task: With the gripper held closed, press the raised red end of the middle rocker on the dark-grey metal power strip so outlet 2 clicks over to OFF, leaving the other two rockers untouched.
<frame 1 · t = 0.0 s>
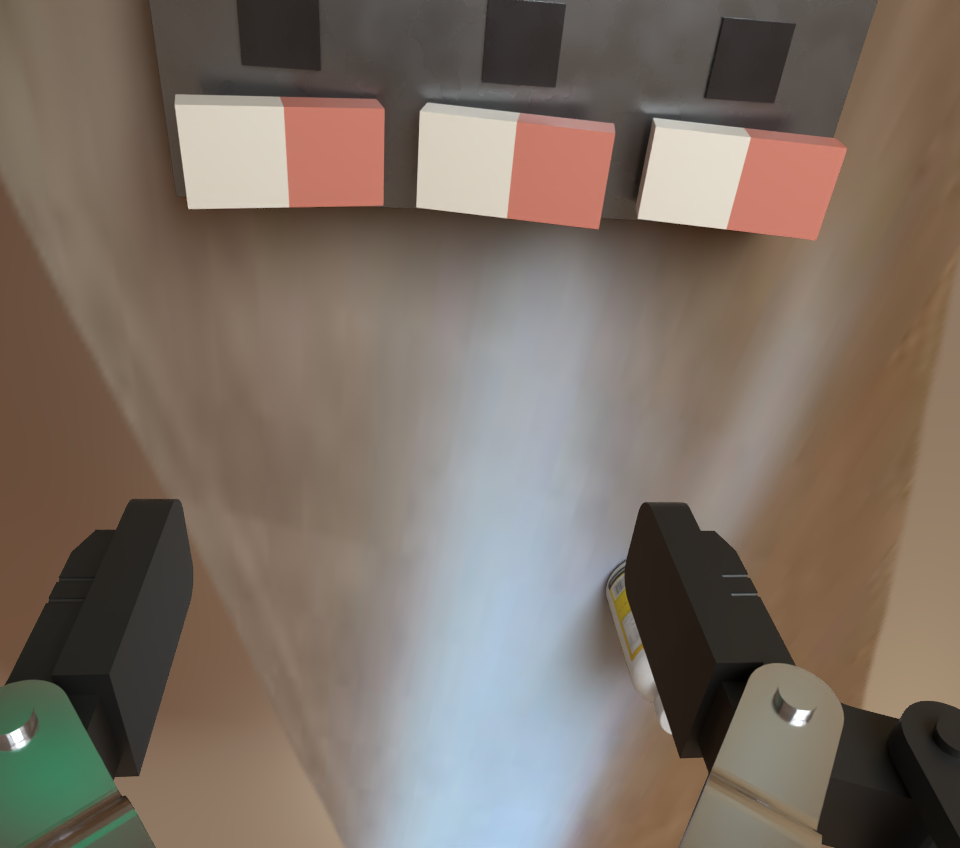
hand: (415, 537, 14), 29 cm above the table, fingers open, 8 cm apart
rocker 3: (735, 179, 34), point 6 cm above the table, hinge at 12.0°
rocker 1: (284, 152, 32), point 6 cm above the table, hinge at -12.0°
power strip: (506, 83, 37), on the table
pill bottle: (645, 577, 57), on the table
rocker 2: (513, 166, 33), point 6 cm above the table, hinge at 12.0°
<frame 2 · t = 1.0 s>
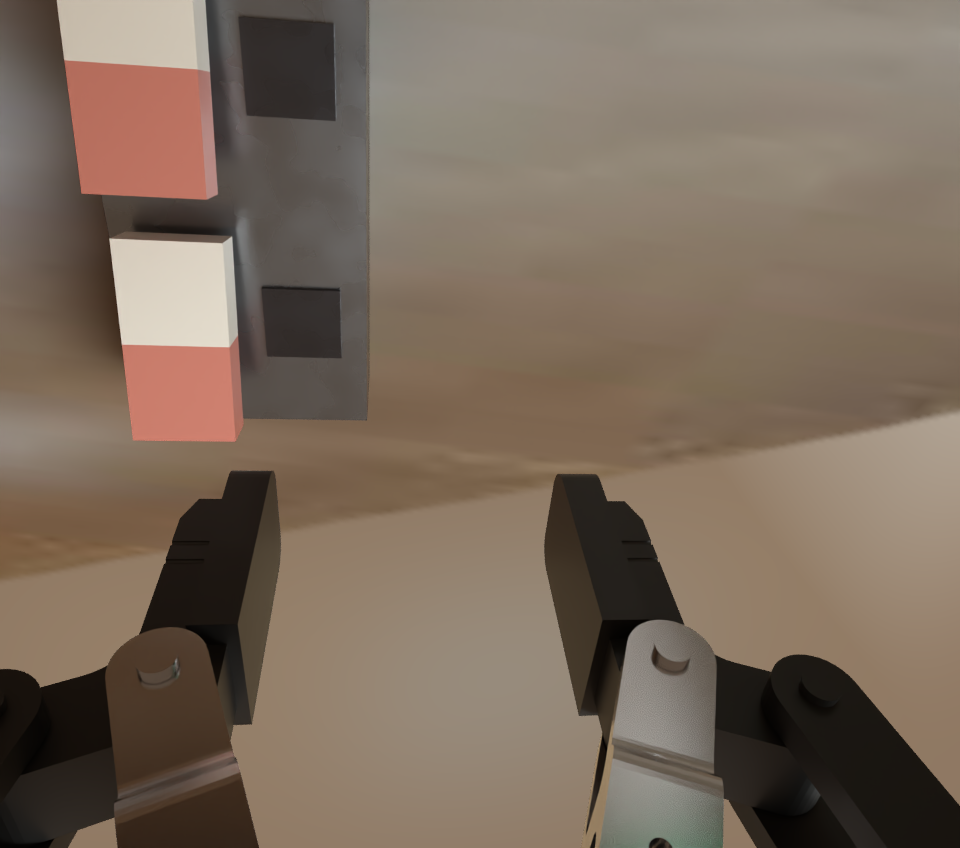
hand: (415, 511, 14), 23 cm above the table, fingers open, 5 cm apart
rocker 3: (182, 339, 31), point 6 cm above the table, hinge at 12.0°
power strip: (241, 47, 30), on the table
rocker 2: (140, 66, 25), point 6 cm above the table, hinge at 12.0°
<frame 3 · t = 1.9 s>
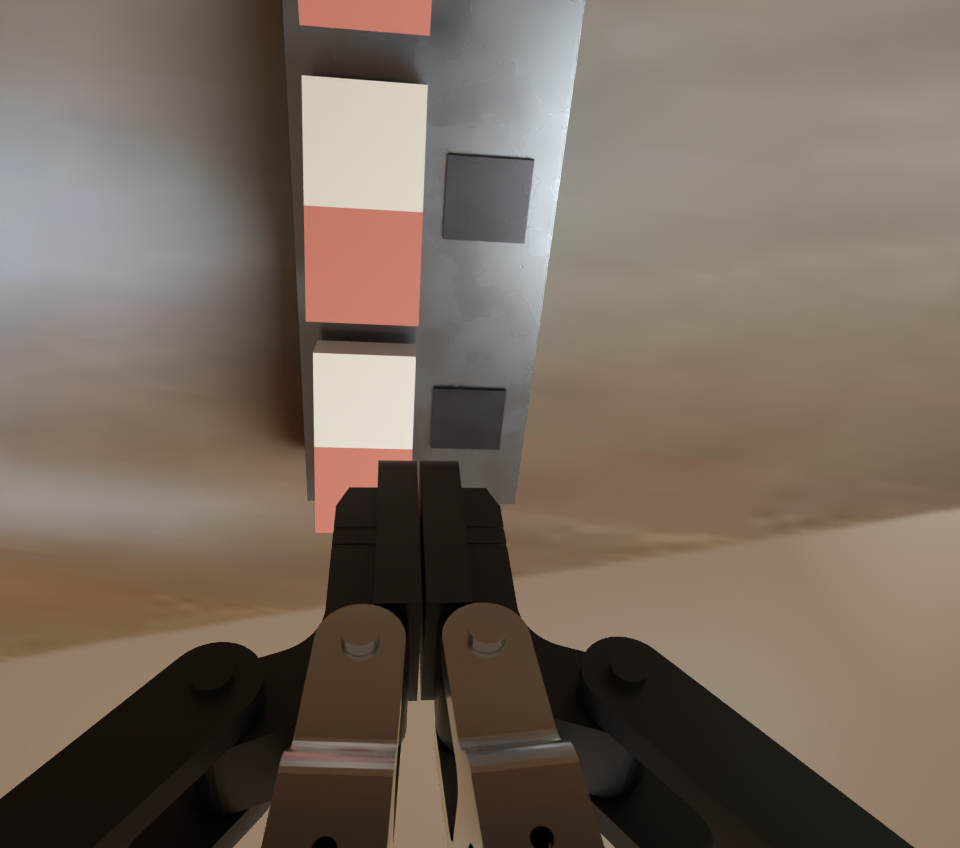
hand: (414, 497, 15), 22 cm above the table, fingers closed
rocker 3: (364, 439, 32), point 6 cm above the table, hinge at 12.0°
power strip: (425, 165, 32), on the table
rocker 2: (365, 205, 27), point 6 cm above the table, hinge at 12.0°
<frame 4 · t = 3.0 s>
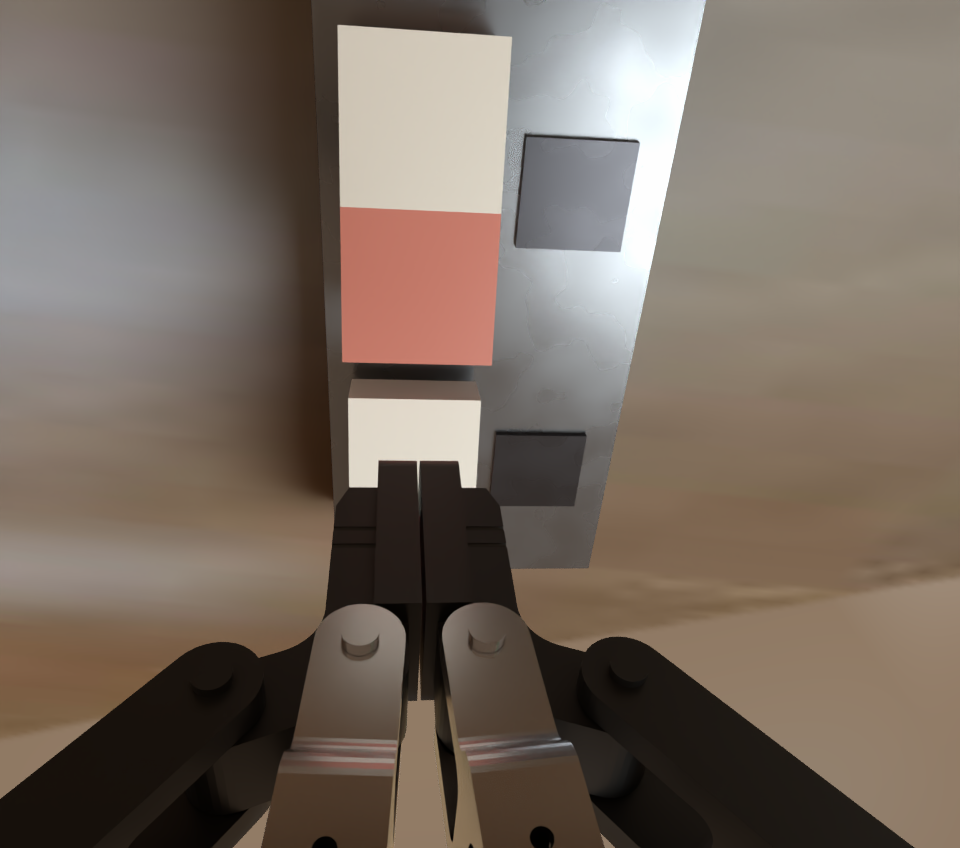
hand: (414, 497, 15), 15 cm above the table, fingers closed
rocker 3: (412, 503, 26), point 6 cm above the table, hinge at 12.0°
power strip: (484, 153, 25), on the table
rocker 2: (420, 206, 20), point 6 cm above the table, hinge at 12.0°
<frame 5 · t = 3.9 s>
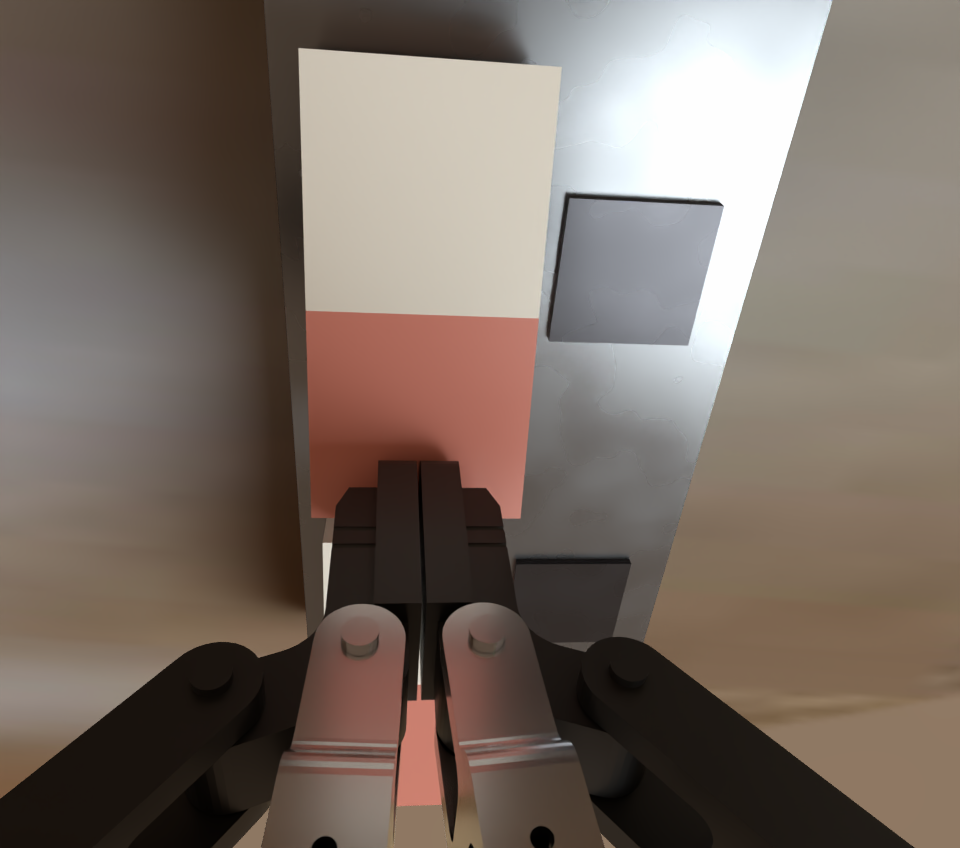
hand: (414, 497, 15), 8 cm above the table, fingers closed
rocker 3: (408, 660, 20), point 6 cm above the table, hinge at 12.0°
power strip: (503, 206, 19), on the table
rocker 2: (422, 302, 14), point 6 cm above the table, hinge at 11.4°, touching gripper
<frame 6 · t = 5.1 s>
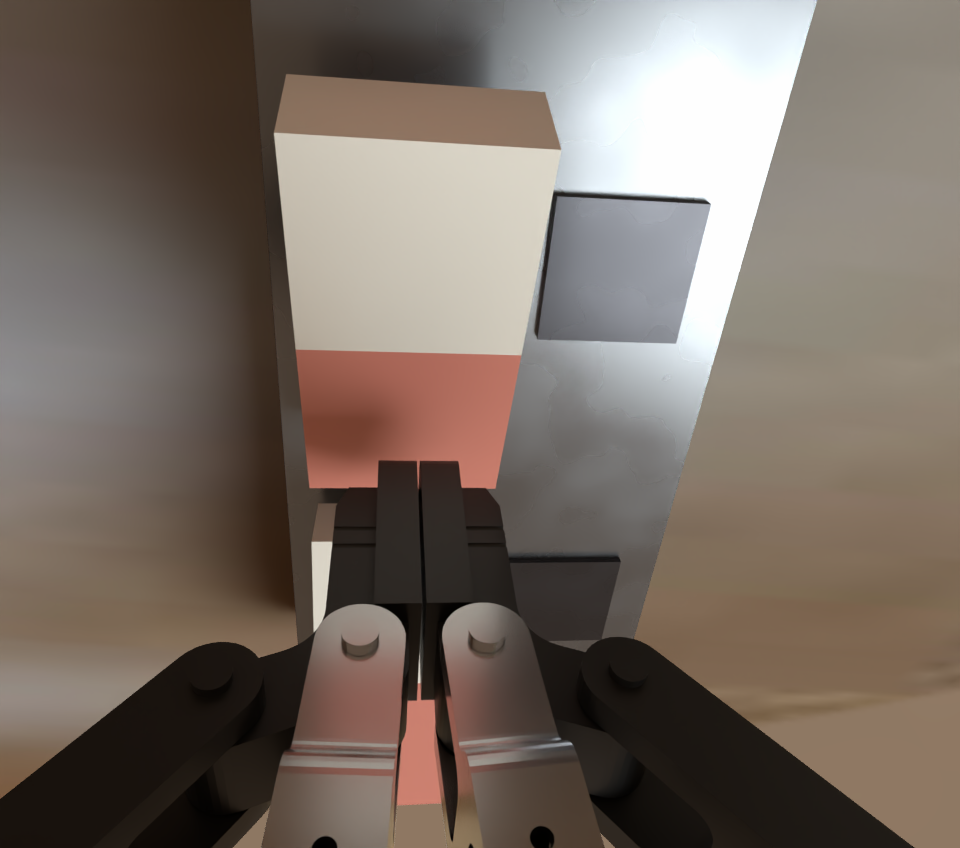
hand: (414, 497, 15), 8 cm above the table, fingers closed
rocker 3: (398, 659, 20), point 6 cm above the table, hinge at 12.0°
power strip: (491, 205, 19), on the table
rocker 2: (409, 319, 14), point 6 cm above the table, hinge at -14.1°
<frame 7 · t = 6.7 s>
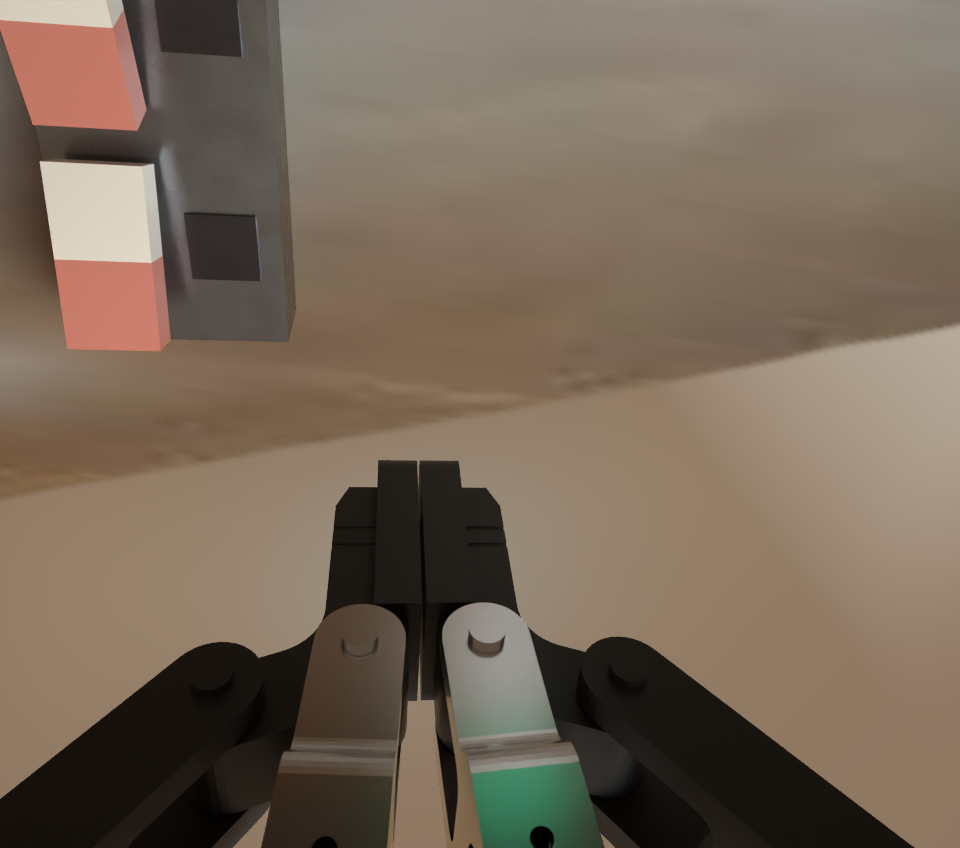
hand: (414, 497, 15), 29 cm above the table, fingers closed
rocker 3: (110, 257, 34), point 6 cm above the table, hinge at 12.0°
rocker 2: (62, 14, 29), point 6 cm above the table, hinge at -14.1°
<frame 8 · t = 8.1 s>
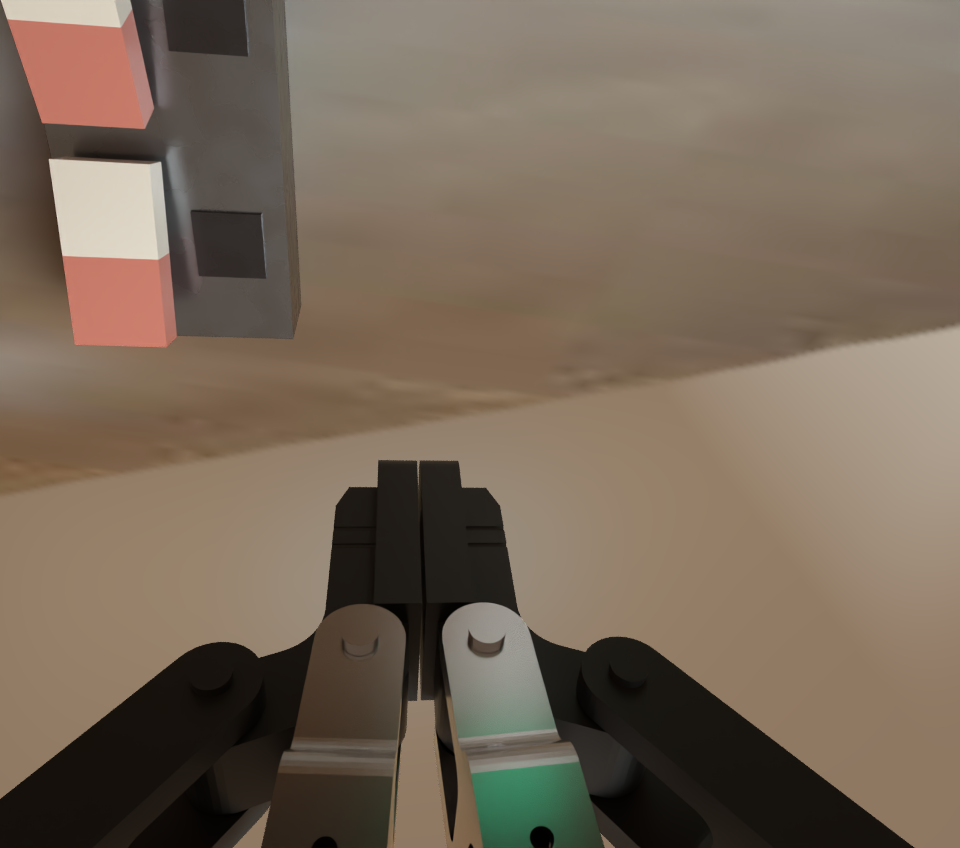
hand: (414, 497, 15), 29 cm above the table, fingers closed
rocker 3: (117, 254, 34), point 6 cm above the table, hinge at 12.0°
rocker 2: (71, 14, 29), point 6 cm above the table, hinge at -14.1°
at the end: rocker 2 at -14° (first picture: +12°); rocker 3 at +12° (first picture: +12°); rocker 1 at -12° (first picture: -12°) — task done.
